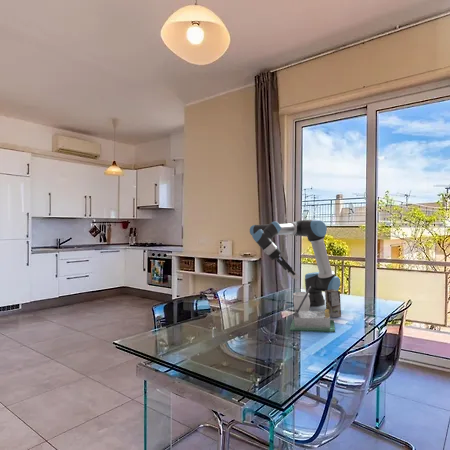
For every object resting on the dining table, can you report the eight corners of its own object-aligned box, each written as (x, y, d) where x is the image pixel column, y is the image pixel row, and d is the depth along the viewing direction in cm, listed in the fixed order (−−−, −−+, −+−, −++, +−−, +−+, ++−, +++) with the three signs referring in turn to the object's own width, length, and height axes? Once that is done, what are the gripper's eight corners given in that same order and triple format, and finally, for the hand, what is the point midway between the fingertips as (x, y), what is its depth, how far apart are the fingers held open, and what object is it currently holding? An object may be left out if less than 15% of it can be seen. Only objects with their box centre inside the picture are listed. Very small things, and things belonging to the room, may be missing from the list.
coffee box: (341, 316, 224) (340, 291, 224) (332, 317, 223) (330, 292, 223) (334, 312, 233) (333, 288, 233) (325, 313, 232) (324, 289, 232)
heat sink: (290, 331, 202) (289, 315, 202) (292, 320, 221) (291, 306, 221) (335, 332, 195) (334, 315, 195) (334, 321, 215) (333, 306, 214)
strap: (296, 315, 208) (295, 314, 208) (297, 312, 213) (295, 312, 213) (311, 288, 205) (309, 287, 206) (311, 286, 210) (309, 285, 210)
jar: (311, 314, 234) (310, 291, 233) (309, 318, 224) (308, 295, 224) (295, 313, 237) (294, 291, 237) (293, 317, 227) (291, 295, 227)
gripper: (266, 255, 224) (288, 280, 223) (270, 255, 199) (295, 284, 198) (275, 247, 224) (297, 272, 223) (279, 247, 200) (304, 275, 198)
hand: (296, 278), depth 210 cm, fingers open, 13 cm apart
